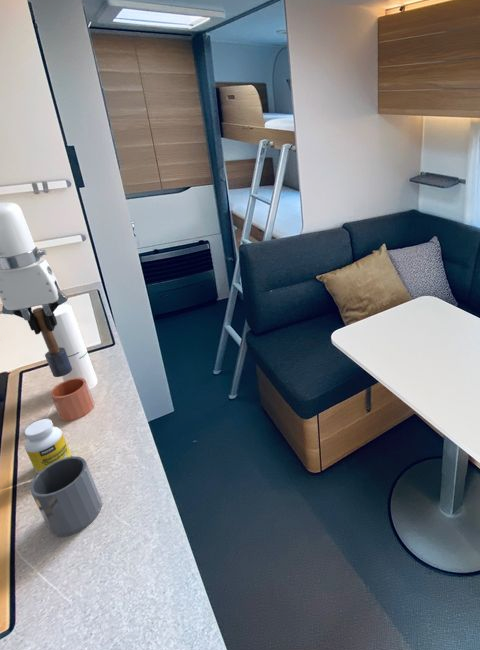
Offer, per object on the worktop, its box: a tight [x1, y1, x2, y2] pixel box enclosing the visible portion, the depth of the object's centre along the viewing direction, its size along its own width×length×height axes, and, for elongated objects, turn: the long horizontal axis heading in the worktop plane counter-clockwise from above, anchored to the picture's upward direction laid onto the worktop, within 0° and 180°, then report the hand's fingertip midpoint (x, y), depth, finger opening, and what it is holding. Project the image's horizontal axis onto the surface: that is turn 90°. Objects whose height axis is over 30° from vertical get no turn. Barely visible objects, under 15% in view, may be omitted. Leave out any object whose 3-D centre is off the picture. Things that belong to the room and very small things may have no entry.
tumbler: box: [29, 455, 103, 538], centre depth 79 cm, size 9×9×11 cm
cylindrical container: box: [52, 303, 98, 390], centre depth 112 cm, size 7×7×25 cm
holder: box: [49, 378, 95, 422], centre depth 106 cm, size 8×8×8 cm
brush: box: [32, 307, 72, 378], centre depth 99 cm, size 4×4×18 cm
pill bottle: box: [24, 418, 72, 475], centre depth 90 cm, size 6×6×12 cm
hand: (45, 329), depth 97 cm, fingers closed on brush, 2 cm apart
